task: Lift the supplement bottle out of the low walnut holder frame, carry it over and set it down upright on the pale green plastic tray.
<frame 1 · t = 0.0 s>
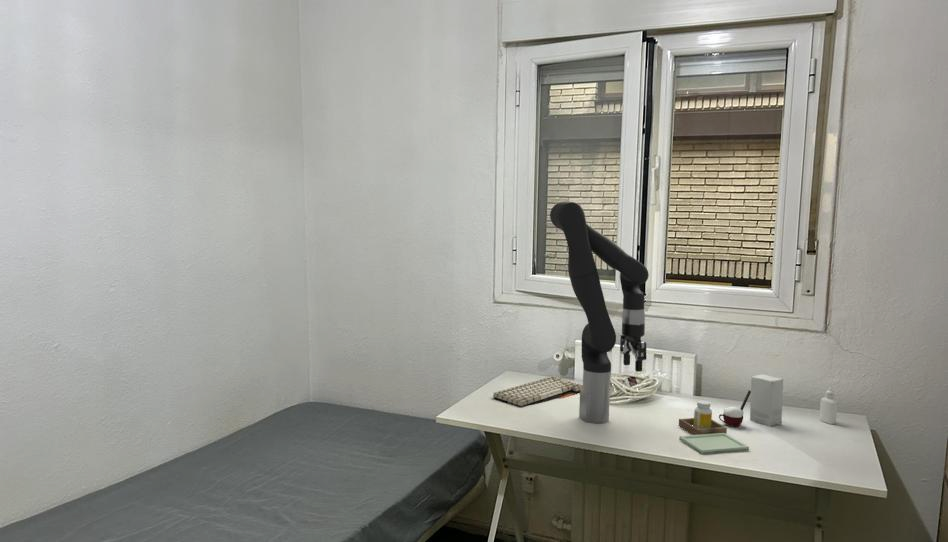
hand: (632, 368, 220), 17 cm above the table, tool pointing down, fingers open, 8 cm apart
mechanical keyboard: (540, 396, 247), on the table
eye dropper bottle: (827, 422, 221), on the table
tray: (713, 445, 197), on the table
supplement bottle: (701, 431, 209), resting in holder
skincare box: (764, 422, 220), on the table
cocoa: (733, 425, 216), on the table
holder: (702, 430, 209), on the table
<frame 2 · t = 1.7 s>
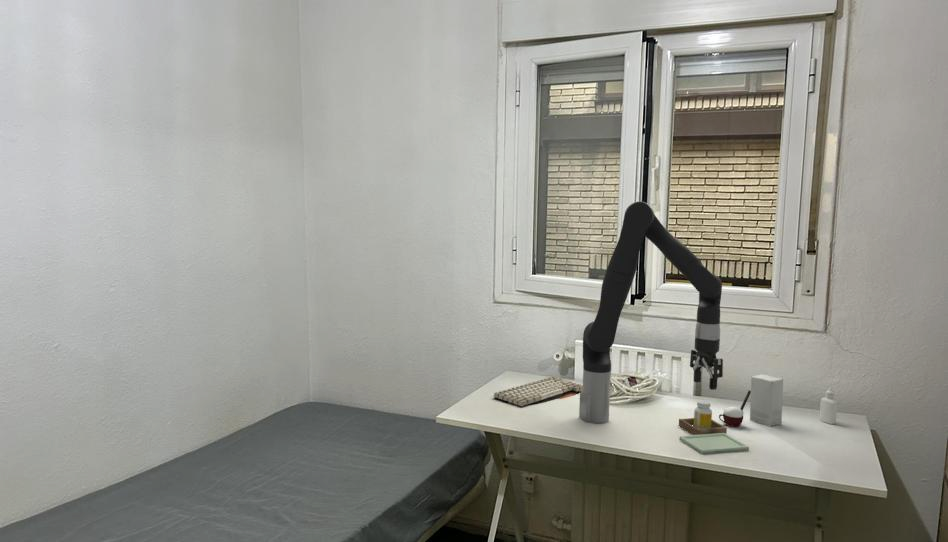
hand: (704, 385, 208), 15 cm above the table, tool pointing down, fingers open, 8 cm apart
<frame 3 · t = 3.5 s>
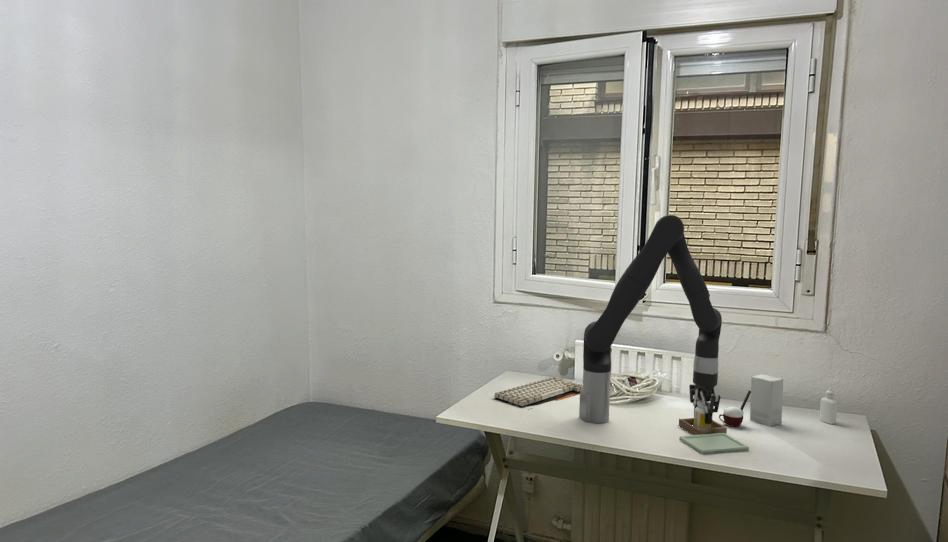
hand: (702, 420, 209), 3 cm above the table, tool pointing down, fingers closed on supplement bottle, 5 cm apart
supplement bottle: (701, 431, 209), resting in holder, touching gripper
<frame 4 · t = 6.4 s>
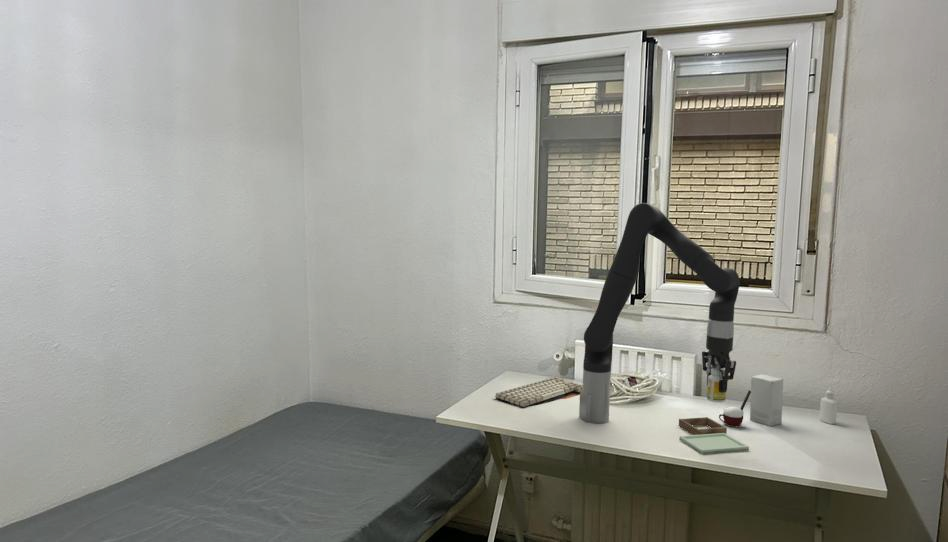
hand: (716, 389, 195), 18 cm above the table, tool pointing down, fingers closed on supplement bottle, 5 cm apart
supplement bottle: (715, 400, 196), point 14 cm above the table, touching gripper
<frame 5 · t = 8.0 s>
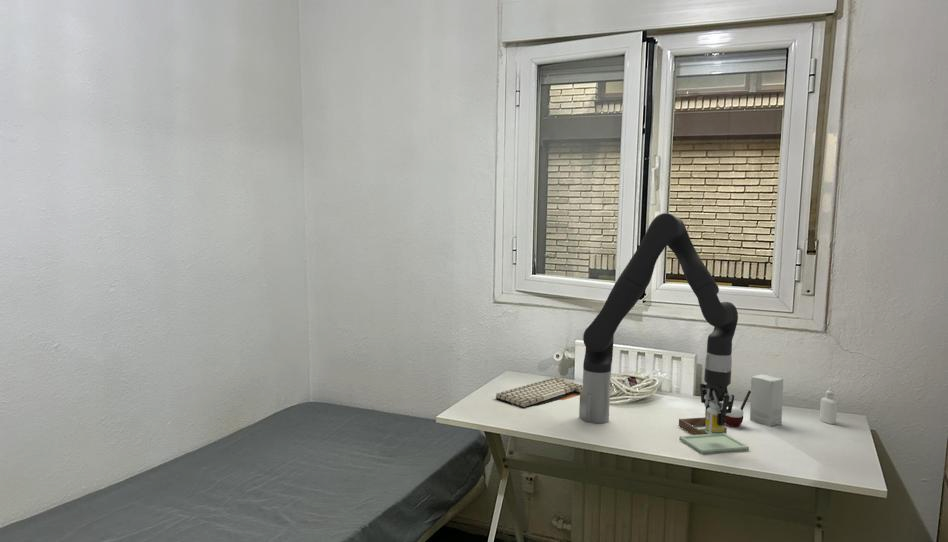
hand: (714, 421, 196), 7 cm above the table, tool pointing down, fingers closed on supplement bottle, 5 cm apart
supplement bottle: (714, 433, 197), point 4 cm above the table, touching gripper
when the fingers open (5 cm above the table, at t = 9.4 s): supplement bottle drops 1 cm, resting on tray.
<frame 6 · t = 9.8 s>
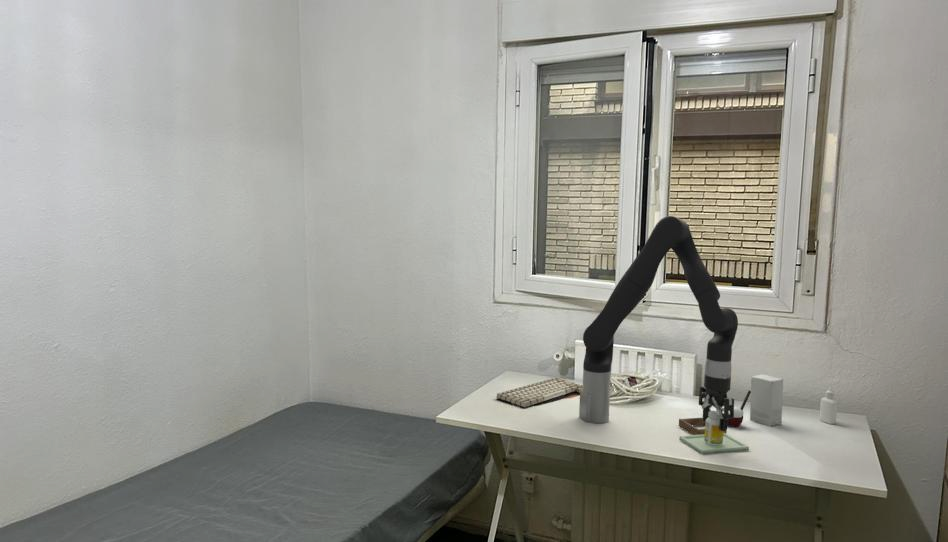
hand: (714, 425, 196), 6 cm above the table, tool pointing down, fingers open, 8 cm apart
supplement bottle: (713, 443, 197), resting on tray
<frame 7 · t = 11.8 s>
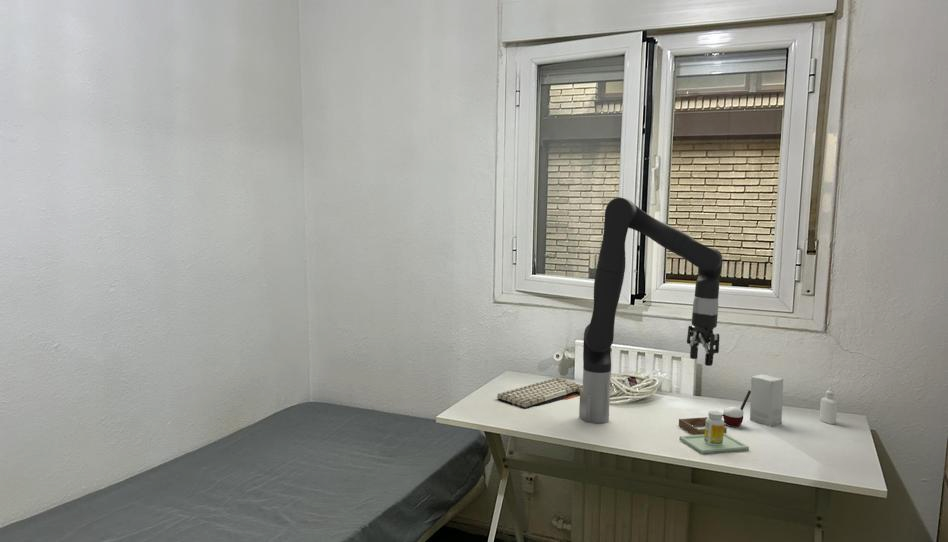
hand: (700, 362, 203), 24 cm above the table, tool pointing down, fingers open, 8 cm apart
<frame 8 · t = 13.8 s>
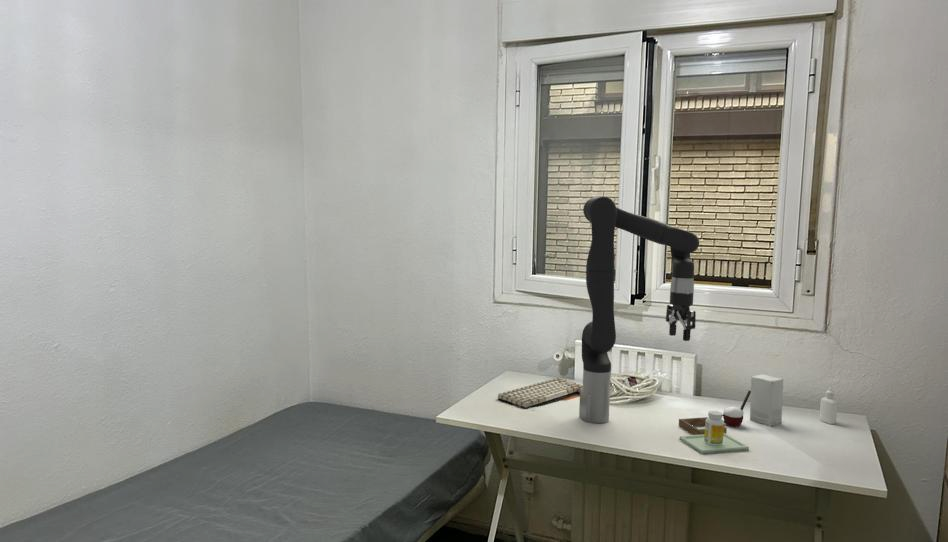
hand: (679, 338, 219), 28 cm above the table, tool pointing down, fingers open, 8 cm apart
at the end: supplement bottle inside the target area on the tray (0.0 cm from its centre), point 0.4 cm above the tray's base; supplement bottle tilted 0°; the gripper is holding nothing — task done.
